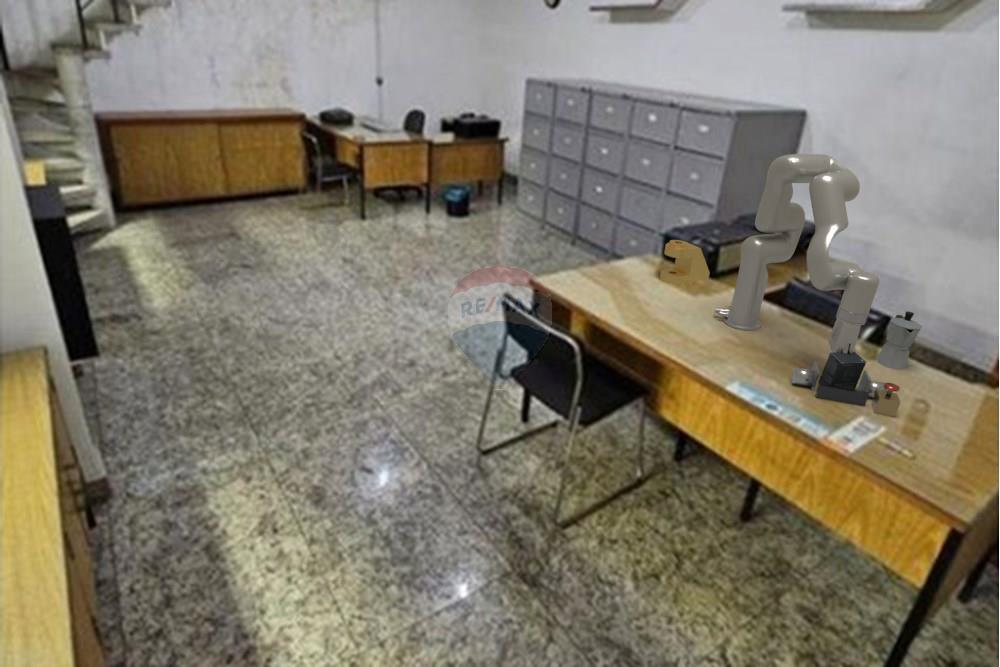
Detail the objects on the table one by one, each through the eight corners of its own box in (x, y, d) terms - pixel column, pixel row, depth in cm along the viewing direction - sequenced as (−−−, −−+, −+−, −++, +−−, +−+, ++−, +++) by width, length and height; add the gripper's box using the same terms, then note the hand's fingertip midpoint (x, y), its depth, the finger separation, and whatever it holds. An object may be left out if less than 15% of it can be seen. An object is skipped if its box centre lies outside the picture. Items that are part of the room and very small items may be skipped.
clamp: (669, 285, 251) (676, 246, 244) (654, 277, 258) (661, 239, 252) (708, 280, 259) (716, 242, 252) (692, 272, 267) (700, 236, 260)
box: (841, 381, 185) (854, 351, 180) (853, 393, 180) (867, 362, 175) (817, 382, 184) (829, 351, 178) (828, 393, 179) (841, 362, 174)
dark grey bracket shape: (794, 393, 178) (800, 373, 175) (789, 377, 187) (795, 358, 184) (887, 411, 172) (894, 390, 170) (878, 393, 181) (885, 373, 178)
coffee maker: (911, 377, 192) (932, 323, 184) (879, 371, 194) (899, 317, 186) (899, 356, 205) (918, 304, 197) (869, 351, 207) (887, 300, 199)
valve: (873, 413, 171) (883, 388, 167) (870, 404, 175) (880, 379, 172) (894, 418, 169) (904, 392, 166) (891, 409, 174) (900, 383, 170)
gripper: (833, 303, 186) (816, 358, 194) (842, 322, 173) (823, 381, 181) (861, 307, 184) (842, 363, 192) (872, 327, 171) (851, 386, 179)
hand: (833, 371), depth 186 cm, fingers closed
